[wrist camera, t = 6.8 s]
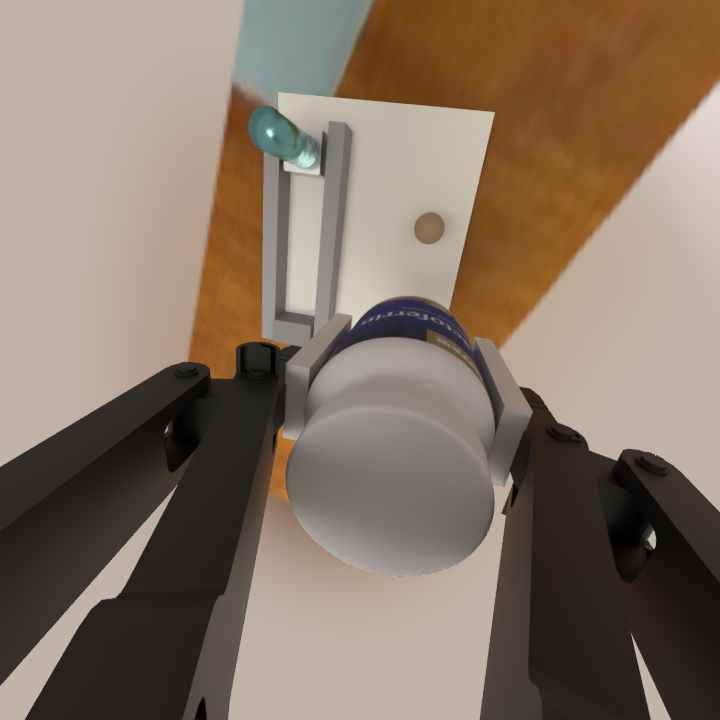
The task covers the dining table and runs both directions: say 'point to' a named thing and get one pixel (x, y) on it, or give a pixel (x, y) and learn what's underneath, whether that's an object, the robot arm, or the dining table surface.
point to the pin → (289, 142)
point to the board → (367, 211)
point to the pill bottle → (397, 444)
